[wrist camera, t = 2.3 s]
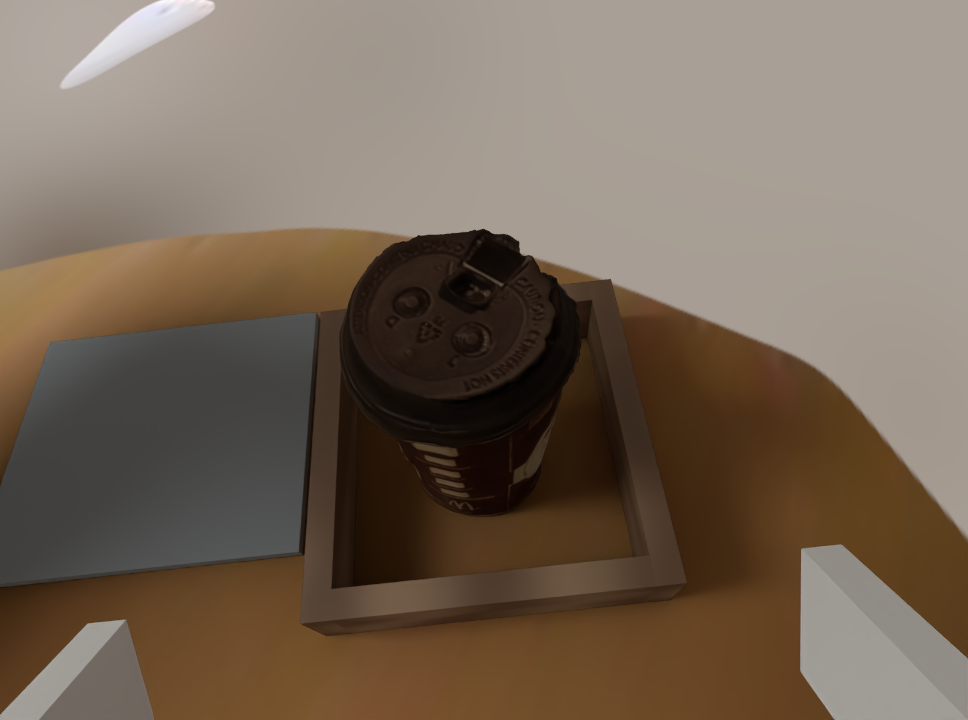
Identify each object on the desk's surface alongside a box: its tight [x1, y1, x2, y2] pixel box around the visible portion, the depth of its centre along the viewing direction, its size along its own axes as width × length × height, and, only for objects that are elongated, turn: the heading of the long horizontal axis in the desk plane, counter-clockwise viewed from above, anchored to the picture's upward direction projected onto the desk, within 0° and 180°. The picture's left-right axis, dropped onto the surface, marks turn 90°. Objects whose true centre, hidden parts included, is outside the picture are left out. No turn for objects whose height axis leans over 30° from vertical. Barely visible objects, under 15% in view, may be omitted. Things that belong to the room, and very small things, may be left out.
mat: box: [0, 312, 319, 587], centre depth 33 cm, size 16×14×1 cm
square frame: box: [300, 279, 687, 636], centre depth 30 cm, size 15×15×4 cm
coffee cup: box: [339, 229, 582, 517], centre depth 26 cm, size 9×8×13 cm
